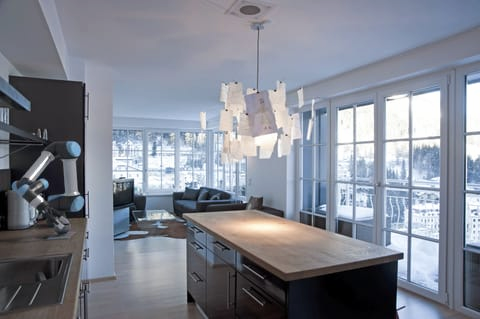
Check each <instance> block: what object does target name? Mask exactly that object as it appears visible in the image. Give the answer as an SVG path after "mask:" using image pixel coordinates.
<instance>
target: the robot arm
mask: <svg viewBox="0 0 480 319" xmlns="http://www.w3.org/2000/svg"><path fill="white" fill-rule="evenodd" d="M81 152H82V150H81V146H80V145H79V144H78V142H76V141H72V140H71V141H70V140H69V141H68V140H67V141H54V142H52V143H50V144H48V145H47V146H46V147H45V148H44V149H42V151H41V153H40V154H41V155H40V156H39V157H38V158H37V159H36V161H35V162H34V163H33V164H32V165H31V166H30V167H29V169H28V170H27V171H26V173H25V174H24V175H23V176H22V177H21V178H20V180H15V181H14V182H13V183H12V184H11V188H12V191H14V192H17V194H18V195H19V196H20V198H22V199H23V200H24V201H26V202H27V203H28V204H29V205H30V206H31V207H33V208H35V210H36V211H38V212H39V213H41V214H43V215H44V217H45V218H46V220H45V224H44V226H46V227H54V225H56V226H57V227H58V228H60V229H62V228H63V227H64V225H62V224H63V223H69V224H70V221H68V219H67V216H66V212H73V213H74V212H79V211H80V210H82V208H83V207H84V204H85V199H84V197H83V196H81V193H80V192H79V190H78V177H77V162H76V161H77V160H78V159H79V158H78V157H79V156H80V155H81ZM56 158H60V161H62V164H63V166H62V167H63V176H64V177H63V178H64V180H63V181H64V189H65V190H64V193H62V194H61V193H60V194H54V195H49V196H48V197H47V200H45V199H44V198H43V197H42V196H41V193H42V192H43V191H45V190H47V189H48V187H49V182H48V180H46V179H45V178H40V179H38V178H39V176H40V175H41V174H42V173H43V171H44V170H45V169H46V167H47V166H48V165H49V164H50V162H53V161H54V160H55V159H56ZM37 179H38V180H37ZM55 217H58V220H59V221H60V222H59V221H58V220H57V219H55Z"/></svg>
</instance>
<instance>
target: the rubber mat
mask: <svg viewBox="0 0 480 319" xmlns="http://www.w3.org/2000/svg"><path fill="white" fill-rule="evenodd" d="M75 233H76V231H68V235H66V236H57V234H58V233H57V232H53V233H51V235H50V236H48V237H47V238H46V239H45V241H55V240H69V239H70V238H71V237H73V235H74V234H75Z"/></svg>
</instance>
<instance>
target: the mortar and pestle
mask: <svg viewBox="0 0 480 319" xmlns="http://www.w3.org/2000/svg"><path fill="white" fill-rule="evenodd" d="M55 219H57V220H58V217H55ZM58 221H59V220H58ZM59 222H60V221H59ZM62 225H64V227H63V228H62V229H60V228H58V227H57V226H56V225H54V226H53V229H54V231H55V232H57V233H58V234H57V236H66V235H68V232H70V231H71V228H72V227H71V226H72V223H70V222H69V223H63V224H62ZM55 232H54V233H55Z"/></svg>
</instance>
